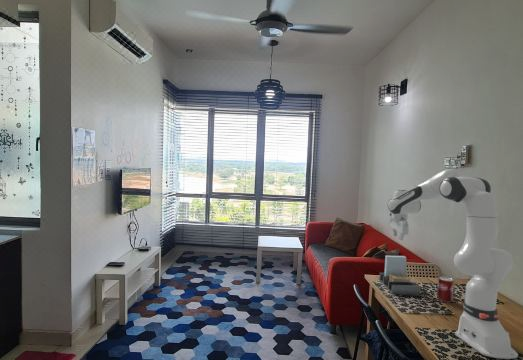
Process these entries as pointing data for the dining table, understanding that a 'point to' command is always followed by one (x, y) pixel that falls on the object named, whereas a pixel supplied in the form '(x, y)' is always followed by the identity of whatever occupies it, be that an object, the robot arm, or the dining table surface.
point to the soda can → (445, 289)
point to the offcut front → (400, 279)
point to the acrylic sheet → (395, 265)
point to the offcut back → (396, 276)
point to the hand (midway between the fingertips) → (398, 237)
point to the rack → (400, 286)
